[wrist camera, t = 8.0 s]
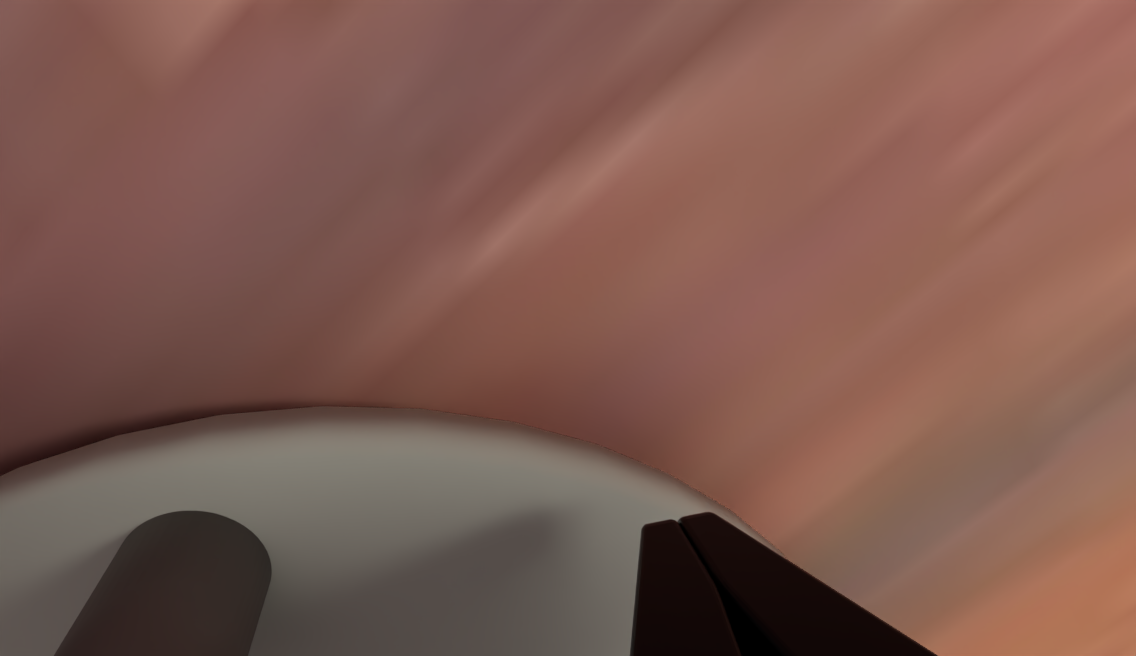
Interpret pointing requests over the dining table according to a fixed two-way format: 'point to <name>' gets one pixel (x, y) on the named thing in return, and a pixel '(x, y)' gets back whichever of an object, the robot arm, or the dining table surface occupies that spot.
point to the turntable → (331, 539)
